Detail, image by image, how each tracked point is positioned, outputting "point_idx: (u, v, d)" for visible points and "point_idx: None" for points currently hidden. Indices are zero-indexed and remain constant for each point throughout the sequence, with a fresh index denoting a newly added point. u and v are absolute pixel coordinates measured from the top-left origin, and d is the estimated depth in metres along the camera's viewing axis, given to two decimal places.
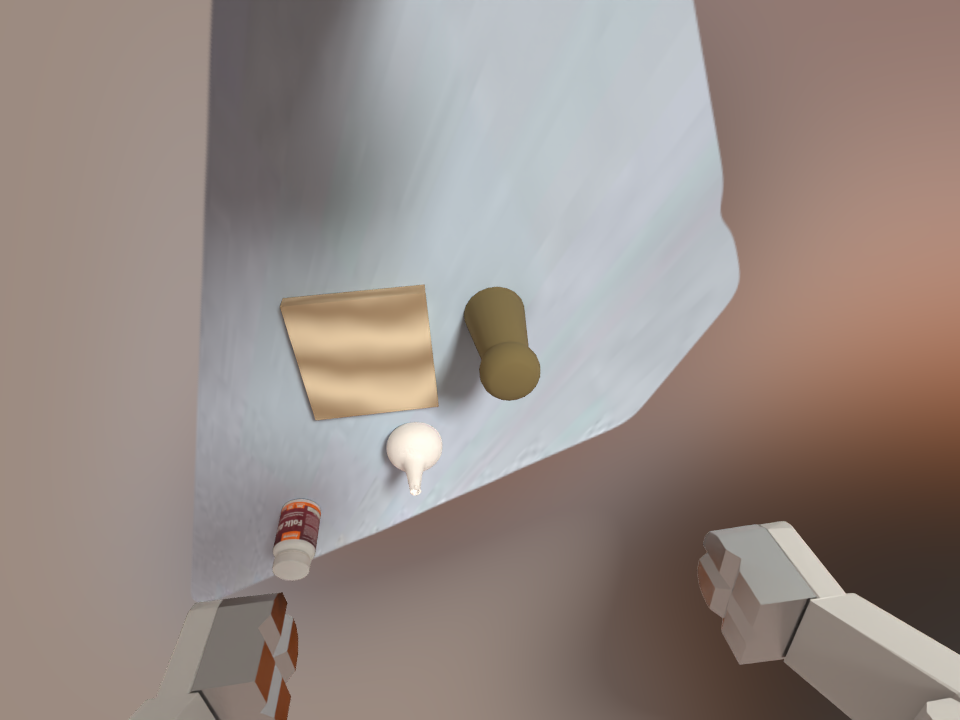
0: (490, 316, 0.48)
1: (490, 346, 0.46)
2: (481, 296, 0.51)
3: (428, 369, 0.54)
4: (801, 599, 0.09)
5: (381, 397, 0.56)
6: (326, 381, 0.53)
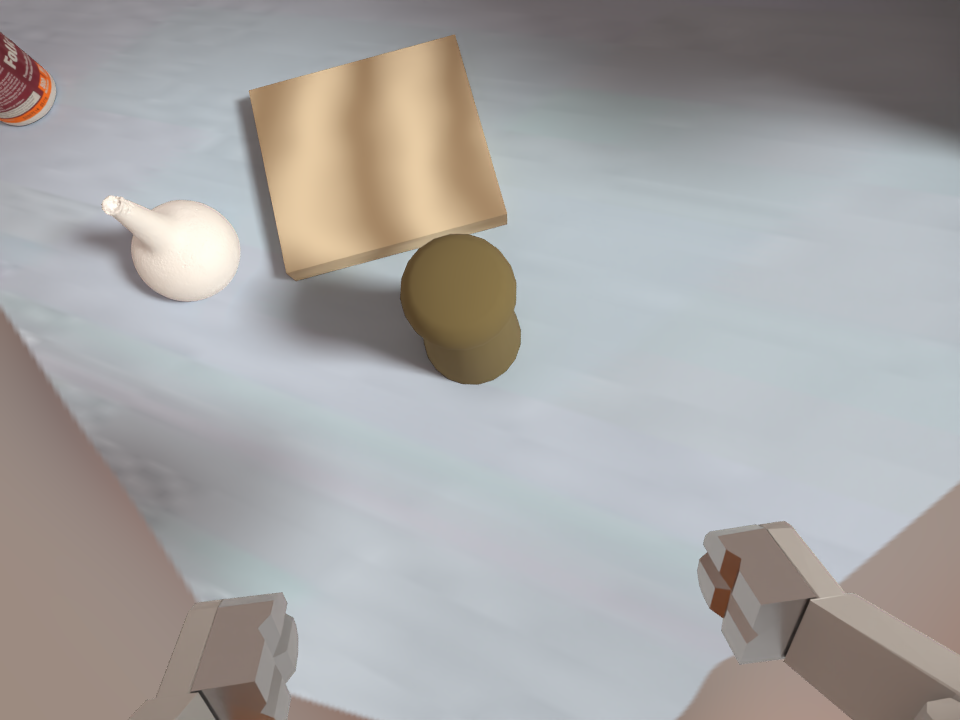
0: None
1: None
2: None
3: (365, 243, 0.33)
4: (801, 599, 0.09)
5: (301, 180, 0.34)
6: (329, 99, 0.35)
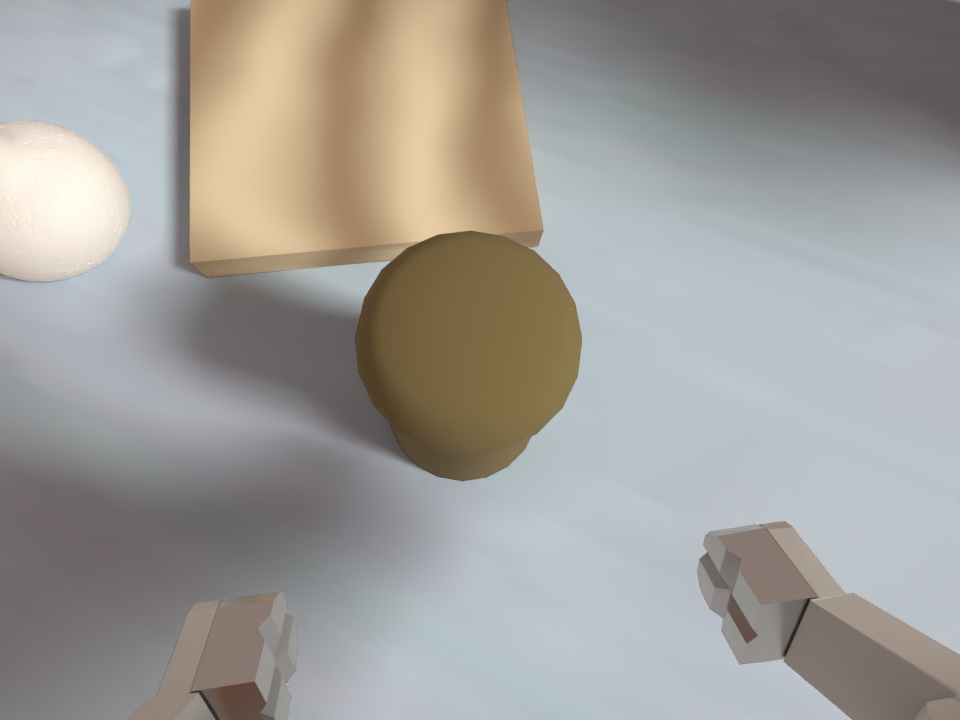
0: None
1: None
2: None
3: (323, 237, 0.21)
4: (801, 599, 0.09)
5: (242, 129, 0.22)
6: (306, 25, 0.24)
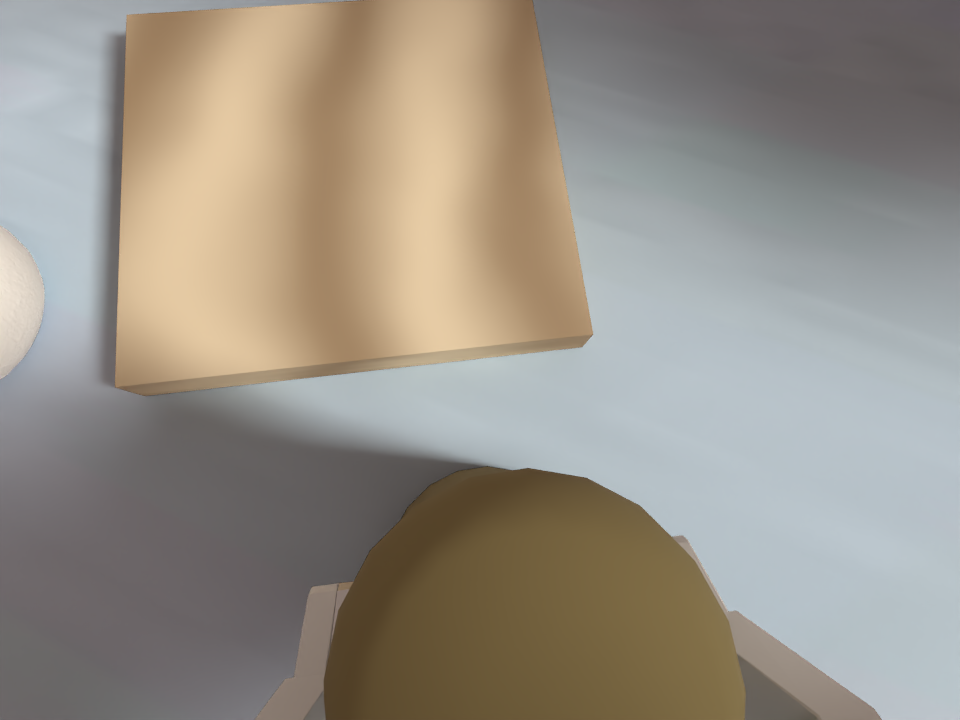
0: None
1: None
2: None
3: (298, 349, 0.16)
4: None
5: (191, 199, 0.17)
6: (278, 58, 0.18)
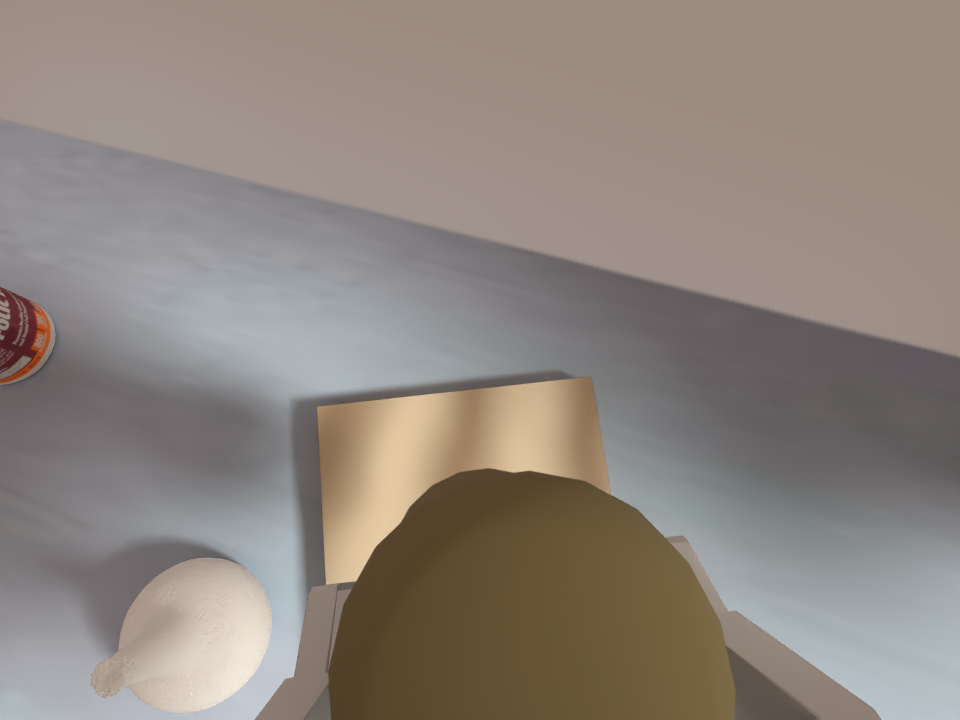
0: None
1: None
2: None
3: None
4: None
5: (370, 552, 0.25)
6: (421, 439, 0.27)
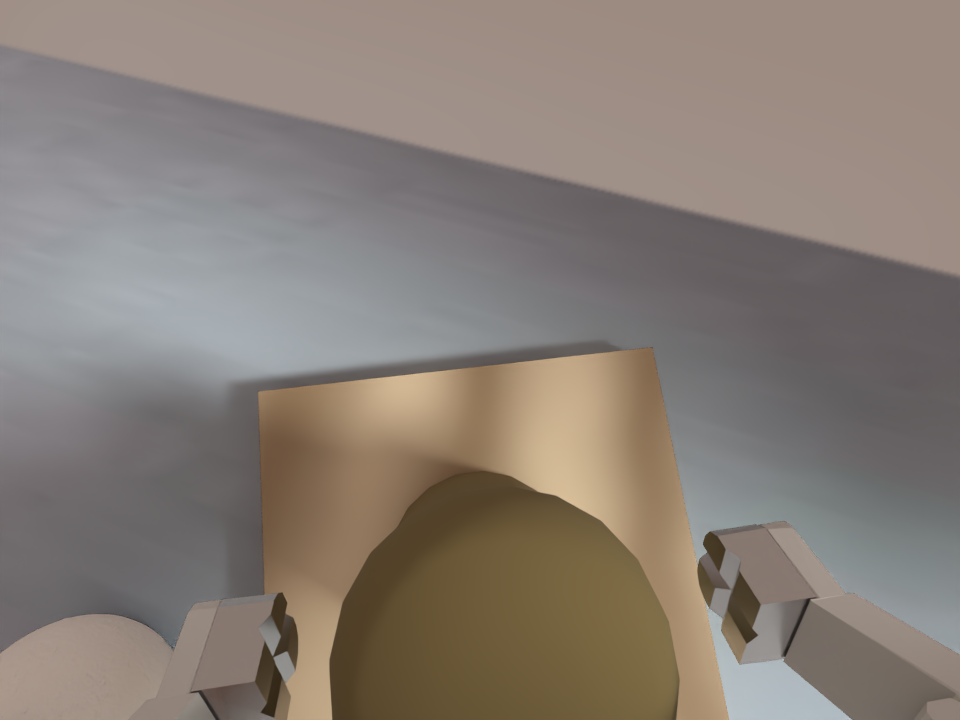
0: None
1: None
2: None
3: None
4: (801, 599, 0.09)
5: (333, 608, 0.17)
6: (410, 437, 0.18)
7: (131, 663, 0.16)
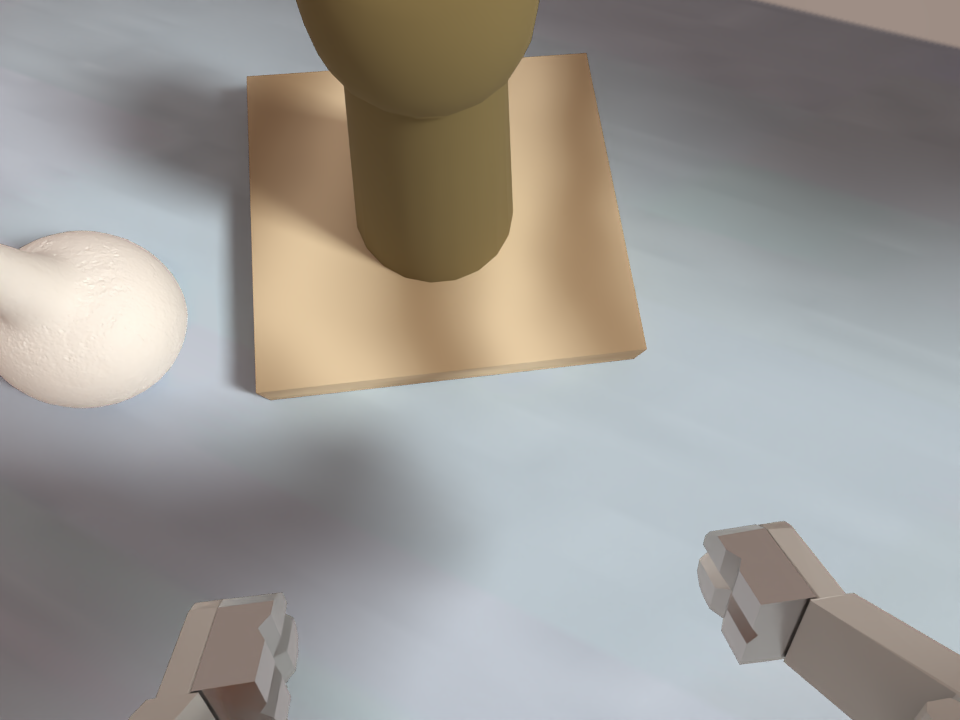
0: None
1: None
2: None
3: (404, 361, 0.19)
4: (801, 599, 0.09)
5: (309, 235, 0.20)
6: None
7: (139, 254, 0.19)
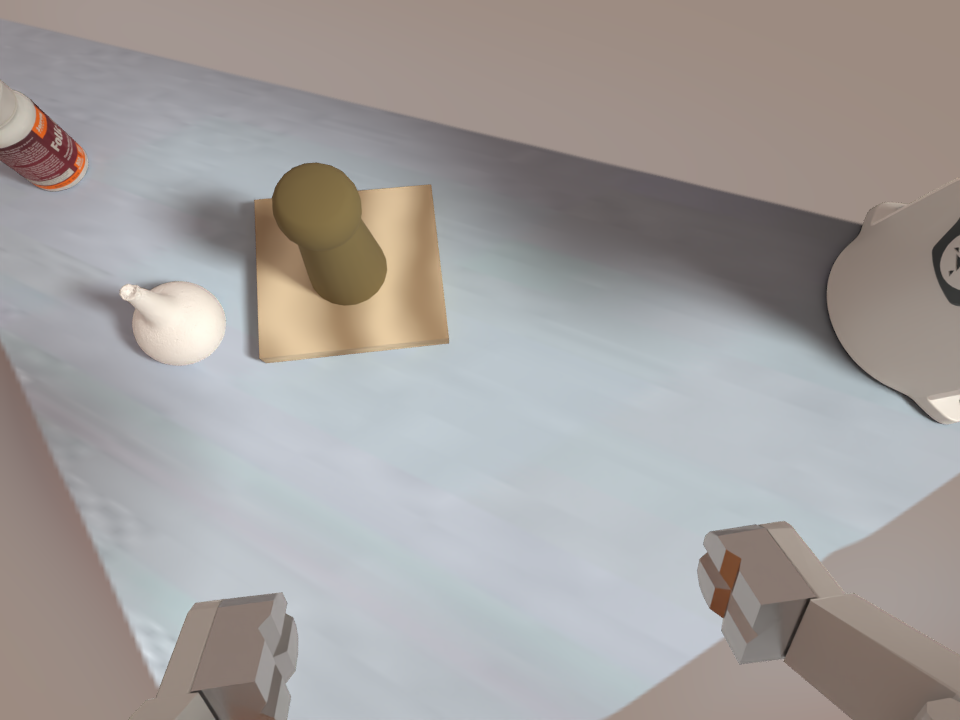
0: (369, 232, 0.38)
1: None
2: (379, 246, 0.41)
3: (330, 343, 0.40)
4: (801, 599, 0.09)
5: (285, 282, 0.41)
6: None
7: (204, 292, 0.39)
